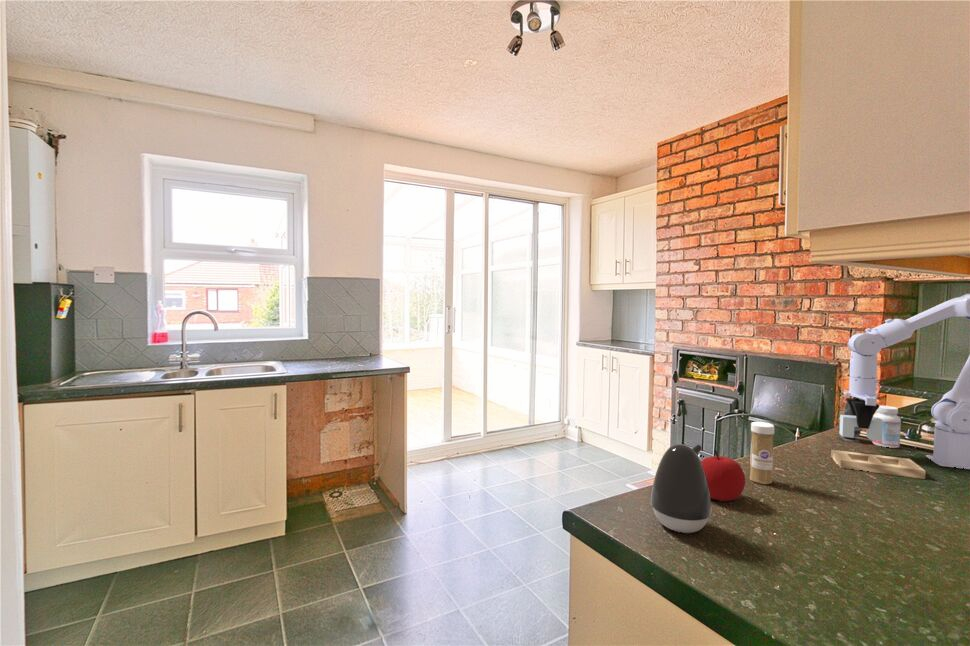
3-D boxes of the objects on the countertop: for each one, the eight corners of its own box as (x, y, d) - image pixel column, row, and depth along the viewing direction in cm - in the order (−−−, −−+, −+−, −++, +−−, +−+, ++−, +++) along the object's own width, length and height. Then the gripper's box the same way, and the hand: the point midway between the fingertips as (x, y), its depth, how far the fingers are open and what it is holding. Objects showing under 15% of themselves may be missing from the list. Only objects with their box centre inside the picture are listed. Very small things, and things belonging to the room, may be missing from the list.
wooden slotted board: (909, 466, 114) (909, 458, 114) (925, 479, 106) (925, 470, 105) (830, 456, 121) (831, 449, 120) (840, 468, 112) (840, 460, 112)
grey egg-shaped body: (723, 531, 81) (726, 448, 80) (686, 546, 76) (688, 457, 75) (675, 508, 90) (676, 433, 89) (638, 520, 85) (640, 441, 84)
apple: (721, 510, 89) (723, 460, 89) (685, 492, 98) (687, 447, 97) (754, 502, 93) (756, 454, 92) (717, 486, 101) (718, 442, 101)
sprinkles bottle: (756, 485, 102) (758, 426, 101) (745, 477, 106) (747, 420, 106) (777, 485, 102) (779, 426, 101) (764, 477, 106) (766, 421, 106)
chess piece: (866, 442, 133) (868, 402, 132) (846, 442, 133) (848, 402, 133) (851, 436, 139) (852, 398, 138) (831, 436, 139) (833, 398, 138)
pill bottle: (867, 441, 135) (869, 404, 134) (892, 443, 133) (894, 405, 132) (878, 447, 129) (879, 408, 128) (904, 449, 127) (906, 410, 126)
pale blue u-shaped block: (877, 437, 123) (878, 417, 123) (881, 440, 120) (882, 420, 120) (839, 433, 127) (840, 414, 127) (842, 436, 124) (843, 417, 124)
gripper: (837, 372, 131) (835, 418, 132) (852, 380, 118) (850, 431, 119) (868, 374, 128) (866, 421, 129) (887, 382, 115) (885, 434, 116)
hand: (861, 426), depth 123 cm, fingers closed on pale blue u-shaped block, 3 cm apart
